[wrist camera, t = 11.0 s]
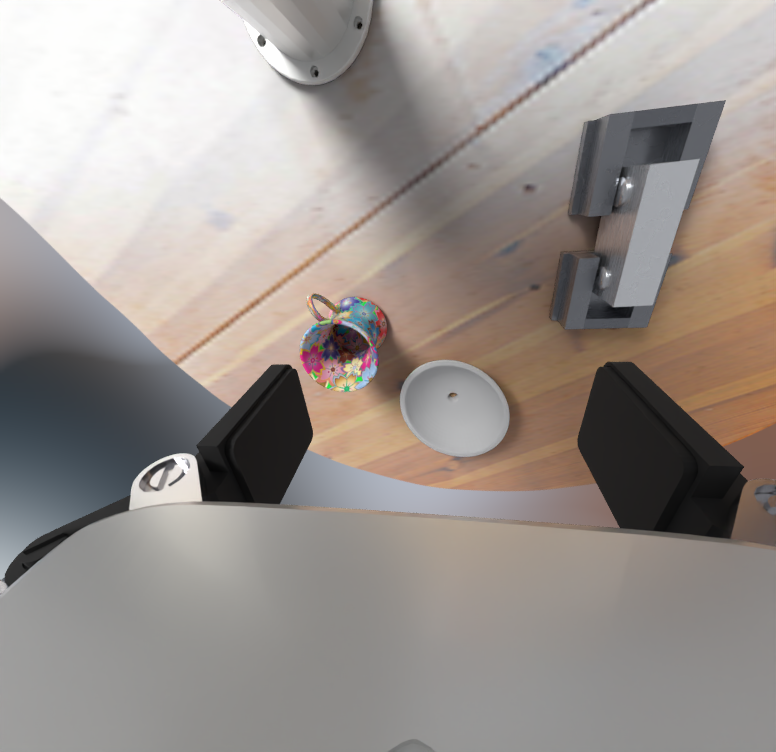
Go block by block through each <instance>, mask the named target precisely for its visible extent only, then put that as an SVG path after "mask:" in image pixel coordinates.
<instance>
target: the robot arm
mask: <svg viewBox="0 0 776 752" xmlns="http://www.w3.org/2000/svg"><path fill="white" fill-rule="evenodd" d="M220 1H221V2H222V3H223V4H225V5H226V6H227V7H228V8H229V9H231V10H232V11H233V12H234V13H235V14H237V15H238V16H239V17H240V18H241V19H243V21H244V24H245V26H246V28H247V31H248V33H249V35H250V38H251V39H252V41H253V43H254V44H255V46H256V48H257V49H258V51H259V52H260V54H261V55H262V56H263V57H264V59H265V60H266V61H267V62H268V63H269V64H270V65H271V66H272V67H273V68H274V69H275V70H277V71H278V72H279V73H280V74H282V75H283V76H285V77H286V78H288V79H290V80H292V81H295V82H297V83H300V84H305V85H320V84H324V83H327V82H330V81H332V80H334V79H336V78H337V77H338V76H340V75H341V74H343V73H344V72H345V71H346V70H347V69H348V68H349V67H350V65H351V64H352V63H353V62H354V60H355V59H356V57H357V55H358V54H359V52H360V51H361V48H362V46H363V43H364V41H365V39H366V36H367V33H368V29H369V25H370V21H371V16H372V7H373V0H220ZM360 23H361V24H362V28H361V29H360V30H359V29H358V25H359V24H360ZM265 41H266V45H265V46H264V42H265ZM316 71H318V72H319V75H318V77H316V76H315V73H316ZM312 437H313V430H312V426H311V422H310V418H309V414H308V411H307V407H306V403H305V399H304V395H303V392H302V388H301V384H300V380H299V376H298V373H297V371H296V369H292V367H291V366H290V365H271V366H270V367H269V368H268V369H267V370H266V371H265V372H264V374H263V375H262V376H261V377H260V378H259V379H258V380H257V381H256V382H255V383H254V384H253V385H252V386H251V387H250V389H249V390H248V391H247V392H246V393H245V394H244V395H243V396H242V397H241V398H240V399H239V400H238V401H237V403H236V404H235V405H234V406H233V407H232V408H231V409H230V410H229V411H228V412H227V413H226V414H225V416H224V417H223V418H222V419H221V420H220V421H219V422H218V423H217V424H216V425H215V426H214V427H213V428H212V429H211V430H210V432H209V433H208V434H207V435H206V436H205V437H204V438H203V439H202V440H201V441H200V442H199V443H198V444H197V448H198V450H199V453H198V454H197V455H196V456H195V457H194V456H192V455H190V454H184V453H182V454H175V455H171V456H168V457H165V458H163V459H161V460H159V461H156V462H155V463H153V464H151V465H150V466H148V467H147V468H146V469H145V470H143V471H142V472H141V473H140V474H139V475H138V476H137V478H136V479H135V480H134V482H133V485H132V488H131V495H130V496H127V497H125V498H123V499H121V500H119V501H117V502H115V503H112V504H110V505H108V506H106V507H104V508H101V509H99V510H97V511H95V512H93V513H90V514H88V515H86V516H84V517H82V518H79V519H78V520H75V521H73V522H71V523H69V524H66V525H64V526H62V527H60V528H58V529H55V530H54V531H51V532H50V533H47V534H45V535H43V536H41V537H40V538H38V539H36V540H35V541H33V542H32V543H31V544H29V546H27V547H26V548H25V549H24V550H23V551H22V552H21V553H20V554H19V555H18V556H17V557H16V558H15V559H14V561H13V562H12V563H11V564H10V566H9V568H8V569H7V571H6V573H5V578H3V579H2V580H0V752H776V480H772V479H754V480H751V481H747V480H746V479H745V478H744V477H743V476H742V475H741V474H740V472H741V471H742V469H743V468H744V466H743V465H741V464H740V463H739V462H738V461H737V460H736V459H735V458H734V457H733V456H732V455H731V454H730V453H729V452H727V450H725V449H724V448H723V447H722V446H721V445H720V444H719V443H718V442H717V441H716V440H715V439H714V438H713V437H712V436H710V435H709V434H708V433H707V432H706V431H705V430H704V429H703V428H702V427H701V426H700V425H699V424H698V423H697V422H696V421H694V420H693V419H692V418H691V417H690V416H689V415H688V414H687V413H686V412H685V411H684V410H683V409H682V408H681V407H680V406H678V405H677V404H676V403H675V402H674V401H673V400H672V399H671V398H670V397H669V396H668V395H667V394H666V393H665V392H663V391H662V390H661V389H660V388H659V387H658V386H657V385H656V384H655V383H654V382H653V381H652V380H651V379H650V378H649V377H647V376H646V375H645V374H644V373H643V372H642V371H641V370H640V369H639V368H638V367H637V366H636V365H635V364H634V363H632V362H607V363H606V364H605V365H604V367H599V368H598V369H597V372H596V375H595V379H594V382H593V386H592V389H591V393H590V396H589V400H588V403H587V407H586V410H585V414H584V418H583V421H582V425H581V428H580V432H579V435H578V447H579V450H580V452H581V454H582V456H583V458H584V460H585V462H586V464H587V465H588V467H589V469H590V471H591V473H592V475H593V477H594V479H595V481H596V483H597V485H598V487H599V489H600V490H601V492H602V494H603V496H604V498H605V500H606V502H607V504H608V506H609V508H610V510H611V512H612V514H613V516H614V517H615V519H616V521H617V523H618V525H619V527H620V528H611V527H599V526H586V525H572V524H559V523H545V522H532V521H519V520H505V519H491V518H476V517H463V516H448V515H435V514H419V513H404V512H391V511H376V510H361V509H344V508H329V507H313V506H298V505H280V502H281V500H282V498H283V496H284V494H285V492H286V490H287V488H288V487H289V485H290V482H291V480H292V478H293V477H294V475H295V473H296V470H297V469H298V466H299V464H300V463H301V460H302V459H303V456H304V454H305V453H306V451H307V449H308V447H309V445H310V443H311V441H312Z"/></svg>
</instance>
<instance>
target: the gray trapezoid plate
mask: <svg viewBox="0 0 776 752" xmlns="http://www.w3.org/2000/svg"><path fill="white" fill-rule="evenodd" d="M699 160H700V159H694V160H683V161H672V162H662V163H651V164H643V165H634V166H626V167H622V169H621V173H620V177H619V181H618V186H617V190H616V194H615V198H614V202H613V206H612V211H611V215H605V216H601V220H600V225H599V230H598V235H597V239H596V244H595V249H594V255H596V256H598V257H600V261H599V265H598V269H597V273H596V277H595V281H594V286H593V290H592V292H593V293H594V294H596V295H597V296H598V297H600V298H601V299H603V300H604V301H605V302H607V303H608V304H610V305H611V306H612V307H628V306H648V305H653V303H654V300H655V297H656V294H657V291H658V287H659V284H660V281H661V278H662V275H663V272H664V269H665V266H666V263H667V259H668V256H669V253H670V250H671V247H672V244H673V241H674V238H675V234H676V231H677V228H678V225H679V222H680V219H681V216H682V213H683V210H684V206H685V203H686V200H687V197H688V194H689V191H690V188H691V185H692V182H693V178H694V175H695V172H696V169H697V166H698V163H699Z"/></svg>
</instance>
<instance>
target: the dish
mask: <svg viewBox="0 0 776 752" xmlns="http://www.w3.org/2000/svg"><path fill="white" fill-rule="evenodd" d="M450 393H456V394H457V395H456V396H455V397H451V396H450V395H449V394H450ZM400 407H401V412H402V415H403V418H404V420H405V422H406V424H407V426H408V427H409V429H410V430H411V431H412V433H413V434H414V435H415V436H416V437H417V438H418V439H419V440H420V441H422V442H423V443H424V444H426V445H427V446H429V447H430V448H432V449H434V450H436V451H438V452H441V453H443V454H447V455H451V456H457V457H471V456H477V455H480V454H483V453H486V452H488V451H490V450H491V449H493V448H494V447H496V446H497V445H498V444H499V443H500V442H501V440H502V439H503V438H504V436H505V434H506V432H507V429H508V426H509V418H510V415H509V407H508V403H507V400H506V398H505V396H504V394H503V392H502V390H501V389H500V387H499V386H498V385H497V384H496V382H495V381H494V380H493V379H492V378H491V377H489V376H488V375H487V374H486V373H484V372H483V371H481V370H480V369H478V368H476V367H474V366H472V365H470V364H467V363H464V362H460V361H455V360H436V361H431V362H428V363H425V364H423V365H421V366H419V367H418V368H416V369H415V370H414V371H413V372H412V373H410V375H409V376H408V377H407V378H406V380H405V382H404V384H403V386H402V389H401V393H400Z"/></svg>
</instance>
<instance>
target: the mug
mask: <svg viewBox="0 0 776 752" xmlns="http://www.w3.org/2000/svg"><path fill="white" fill-rule="evenodd" d="M312 298H314V299H317V300H319V301H321V302H322V303H324V304H325V305H326V306H328V307H329V308H330V309H331V311H330V313H329V316H328V319H326V318H324V317H322V316H321V315H320V314H319V313H318V311H317V310H316V308H315V307H314V304H313V301H312ZM306 302H307V306H308V308H309V310H310V312H311V314H312V315H313V316H314V317H315V318H316V319H317V320H318V321H320V322H319V323H316V324H315V325H313V326H312V327H310V328H309V329H308V330H307V331H306V333H305V334H304V336H303V338H302V340H301V344H300V358H301V361H302V364H303V366H304V368H305V370H306V372H307V373H308V374H309V375H310V377H311V378H312V379H313V380H315V381H316V382H317V383H318V384H320V385H322V386H323V387H325V388H328V389H330V390H334V391H338V392H351V391H356V390H359V389H361V388H363V387H365V386H366V385H367V384H369V383H370V382H371V381H372V379H373V378H374V376H375V375H376V372H377V369H378V364H379V358H378V352H377V348H378V347H380V346H381V344H382V343H383V341H384V340H385V337H386V334H387V324H386V320H385V317H384V315H383V313H382V312H381V310H380V309H379V308H378V307H377V306H376V305H375V304H374V303H372V302H371V301H369V300H367V299H364V298H359V297H349V298H345V299H343V300H341V301H339V302H338V303H336V304H335V305H333V304H332V303H331V302H330V301H329V300H328V299H326V298H325V297H323V296H321V295H319V294H311V295H309V296H308V297H307V299H306Z"/></svg>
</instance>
